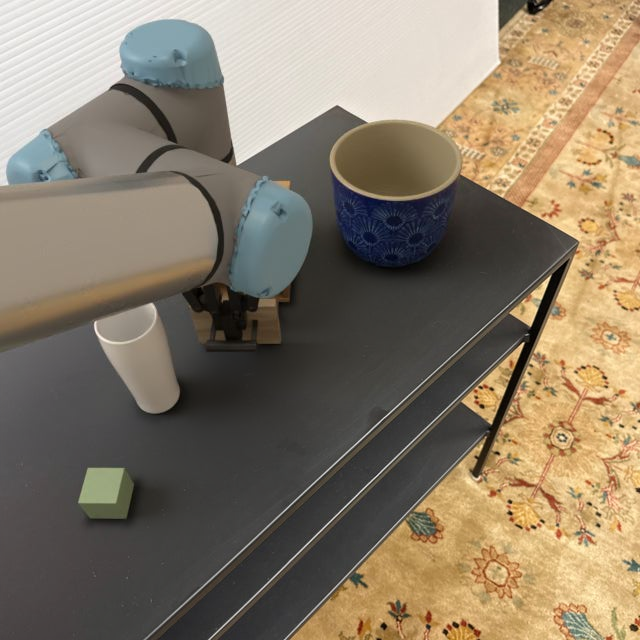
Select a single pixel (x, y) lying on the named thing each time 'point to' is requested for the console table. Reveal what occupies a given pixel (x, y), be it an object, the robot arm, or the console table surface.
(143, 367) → the drinking glass
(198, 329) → the drawer
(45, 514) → the console table surface
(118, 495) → the block
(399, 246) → the planter
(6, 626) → the console table surface
